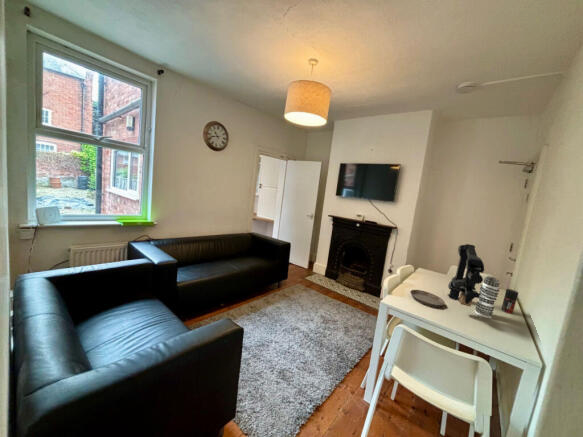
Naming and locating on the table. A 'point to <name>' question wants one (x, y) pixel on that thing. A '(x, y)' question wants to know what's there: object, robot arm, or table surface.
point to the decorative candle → (487, 297)
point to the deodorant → (509, 301)
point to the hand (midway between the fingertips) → (464, 301)
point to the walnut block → (462, 300)
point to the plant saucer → (427, 298)
